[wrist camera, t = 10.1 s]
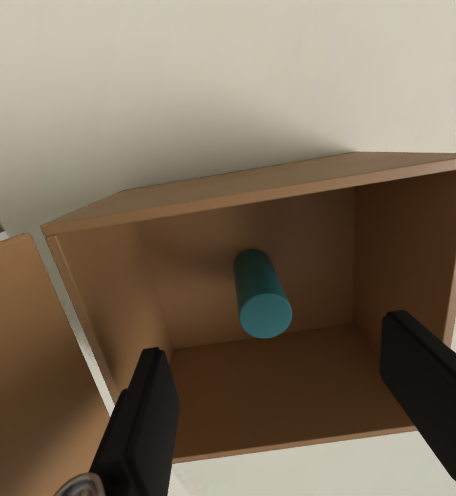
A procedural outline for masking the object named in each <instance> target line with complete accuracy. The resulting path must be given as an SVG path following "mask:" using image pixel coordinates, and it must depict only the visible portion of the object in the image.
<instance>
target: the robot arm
mask: <svg viewBox="0 0 456 496" xmlns="http://www.w3.org/2000/svg"><path fill="white" fill-rule="evenodd" d="M379 371H380V376H381V378H382V380H383V382H384V383H385V385H386V386H387V387H388V389H389V390H390V392H391V393H392V394H393V396H394V397H395V399H396V400H397V401H398V403H399V404H400V406H401V407H402V408H403V410H404V411H405V413H406V414H407V416H408V417H409V418H410V420H411V421H412V423H413V424H414V425H415V427H416V428H417V430H418V431H419V432H420V434H421V435H422V437H423V438H424V439H425V441H426V442H427V444H428V445H429V446H430V448H431V449H432V451H433V452H434V454H435V455H436V456H437V458H438V459H439V461H440V462H441V463H442V465H443V466H444V468H445V469H446V470H447V472H448V473H449V475H450V476H451V477H452V478H453V479H454V480H455V481H456V353H455V352H454V351H453V350H451V349H450V348H449V347H448V346H447V345H446V344H444V343H443V342H442V341H441V340H440V339H439V338H437V337H436V336H435V335H434V334H433V333H432V332H430V331H429V330H428V329H427V328H426V327H425V326H423V325H422V324H421V323H420V322H419V321H418V320H417V319H415V318H414V317H413V316H412V315H411V314H410V313H408V312H407V311H406V310H397V311H390V312H387V313H386V316H384V317H383V318H382V330H381V349H380V368H379ZM179 413H180V401H179V397H178V394H177V390H176V387H175V384H174V380H173V377H172V374H171V370H170V367H169V364H168V360H167V357H166V354H165V351H164V350H160V348H159V347H153V348H146V349H143V350H142V352H141V355H140V357H139V360H138V363H137V365H136V368H135V371H134V373H133V376H132V379H131V381H130V384H129V386H128V388H127V389H123V390H122V391H121V393H120V395H119V397H118V400H117V402H116V405H115V407H114V410H113V412H112V415H111V417H110V420H109V422H108V425H107V427H106V430H105V432H104V434H103V437H102V439H101V442H100V444H99V447H98V449H97V452H96V454H95V457H94V459H93V462H92V464H91V467H90V469H89V472H86V473H82V474H78V475H77V476H75V477H73V478H71V479H70V480H68V481H67V482H66V483H65V484H64V485H62V486H61V487H60V488H59V490H58V491H57V492H56V493H55V494H54V495H53V496H167V494H168V487H169V480H170V474H171V467H172V460H173V454H174V447H175V440H176V433H177V427H178V420H179Z"/></svg>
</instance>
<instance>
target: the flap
mask: <svg viewBox="0 0 456 496" xmlns="http://www.w3.org/2000/svg"><path fill="white" fill-rule="evenodd" d="M109 420H110V416H109V413H108V411H107V409H106V407H105V404H104V402H103V400H102V397H101V395H100V393H99V391H98V388H97V386H96V384H95V381H94V379H93V377H92V374H91V372H90V370H89V367H88V365H87V363H86V361H85V358H84V356H83V354H82V351H81V349H80V347H79V344H78V342H77V340H76V338H75V335H74V333H73V331H72V328H71V326H70V324H69V321H68V319H67V317H66V315H65V312H64V310H63V308H62V305H61V303H60V301H59V298H58V296H57V294H56V292H55V289H54V287H53V285H52V282H51V280H50V278H49V275H48V273H47V271H46V269H45V266H44V264H43V262H42V259H41V257H40V255H39V252H38V250H37V248H36V246H35V243H34V241H33V239H32V236H31V234H30V233H23V234H20V235H17V236H14V237H11V238H9V239H6V240H3V241H0V496H53V495H54V494H55V493H56V492H57V491H58V490H59V488H60V487H61V486H62V485H64V484H65V483H66V482H67V481H68V480H70V479H71V478H73V477H75V476H77V475H78V474H82V473H86V472H89V469H90V467H91V464H92V462H93V459H94V457H95V454H96V452H97V449H98V447H99V444H100V442H101V439H102V437H103V434H104V432H105V430H106V427H107V425H108V422H109Z"/></svg>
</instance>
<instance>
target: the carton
mask: <svg viewBox="0 0 456 496" xmlns="http://www.w3.org/2000/svg"><path fill="white" fill-rule="evenodd" d="M40 227H41V229H42V232H43V234H44V236H46V237H45V239H46V241H47V244H48V246H49V249H50V251H51V253H52V256H53V258H54V261H55V263H56V265H57V268H58V270H59V273H60V275H61V277H62V280H63V282H64V285H65V287H66V289H67V292H68V294H69V297H70V299H71V301H72V304H73V306H74V309H75V311H76V313H77V316H78V318H79V321H80V323H81V325H82V328H83V330H84V333H85V335H86V337H87V340H88V342H89V345H90V347H91V349H92V352H93V354H94V357H95V359H96V361H97V364H98V366H99V369H100V371H101V373H102V376H103V378H104V381H105V383H106V385H107V388H108V390H109V392H110V395H111V397H112V400H113V402H114V405H116V402H117V400H118V397H119V395H120V393H121V391H122V390H123V389H127V388H128V386H129V384H130V381H131V379H132V376H133V373H134V371H135V368H136V365H137V363H138V360H139V357H140V355H141V352H142V350H143V349H146V348H153V347H159V348H160V350H164V351H165V354H166V357H167V360H168V364H169V367H170V370H171V374H172V377H173V380H174V384H175V387H176V390H177V394H178V397H179V401H180V413H179V420H178V427H177V433H176V440H175V447H174V454H173V460H172V464H175V463H183V462H190V461H197V460H205V459H212V458H220V457H227V456H234V455H242V454H249V453H256V452H264V451H271V450H279V449H286V448H293V447H301V446H308V445H315V444H323V443H330V442H338V441H345V440H352V439H360V438H367V437H374V436H382V435H389V434H396V433H404V432H411V431H418V430H417V428H416V427H415V425H414V424H413V423H412V421H411V420H410V418H409V417H408V416H407V414H406V413H405V411H404V410H403V408H402V407H401V406H400V404H399V403H398V401H397V400H396V399H395V397H394V396H393V394H392V393H391V392H390V390H389V389H388V387H387V386H386V385H385V383H384V382H383V380H382V378H381V376H380V371H379V368H380V349H381V330H382V318H383V317H384V316H386V313H387V312H390V311H397V310H406V311H407V312H408V313H410V314H411V315H412V316H413V317H414V318H415V319H417V320H418V321H419V322H420V323H421V324H422V325H423V326H425V327H426V328H427V329H428V330H429V331H430V332H432V333H433V334H434V335H435V336H436V337H437V338H439V339H440V340H441V341H442V342H443V343H444V344H446V345H447V346H448V347H449V348H451V342H452V336H453V329H454V323H455V317H456V153H408V152H352V153H346V154H340V155H334V156H328V157H322V158H316V159H310V160H304V161H298V162H292V163H286V164H280V165H274V166H267V167H261V168H255V169H249V170H243V171H237V172H231V173H225V174H219V175H213V176H207V177H201V178H195V179H189V180H183V181H177V182H171V183H165V184H159V185H153V186H146V187H140V188H134V189H128V190H123V191H121V192H119V193H116V194H114V195H111V196H109V197H107V198H104V199H102V200H100V201H97V202H95V203H93V204H90V205H88V206H86V207H83V208H81V209H79V210H76V211H74V212H71V213H69V214H67V215H64V216H62V217H60V218H57V219H55V220H53V221H50V222H48V223H46V224H43V225H41V226H40ZM248 249H257V250H261V251H263V252H264V253H265V254H266V255H267V256H268V257H269V259H270V261H271V263H272V266H273V268H274V270H275V272H276V275H277V277H278V279H279V281H280V283H281V286H282V288H283V290H284V292H285V294H286V297H287V299H288V301H289V303H290V306H291V308H292V319H291V322H290V324H289V326H288V327H287V329H286V330H285V331H284V332H282V333H281V334H279V335H277V336H275V337H272V338H257V337H253V336H251V335H249V334H248V333H247V332H246V331H245V330H244V329H243V328H242V326H241V324H240V321H239V314H238V305H237V296H236V287H235V278H234V270H233V264H234V261H235V259H236V257H237V256H238V255H239V254H240V253H241V252H243V251H245V250H248Z"/></svg>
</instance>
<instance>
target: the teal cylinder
mask: <svg viewBox="0 0 456 496" xmlns="http://www.w3.org/2000/svg"><path fill="white" fill-rule="evenodd" d="M233 270H234V278H235V287H236V296H237V305H238V314H239V321H240V324H241V326H242V328H243V329H244V330H245V331H246V332H247V333H248V334H249V335H251V336H253V337H257V338H272V337H275V336H277V335H279V334H281V333H282V332H284V331H285V330H286V329H287V327H288V326H289V324H290V322H291V319H292V308H291V306H290V303H289V301H288V299H287V297H286V294H285V292H284V290H283V288H282V286H281V283H280V281H279V279H278V277H277V275H276V272H275V270H274V268H273V266H272V263H271V261H270V259H269V257H268V256H267V255H266V254H265V253H264V252H263V251H261V250H257V249H248V250H245V251H243V252H241V253H240V254H239V255H238V256H237V257H236V259H235V261H234V264H233Z"/></svg>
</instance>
